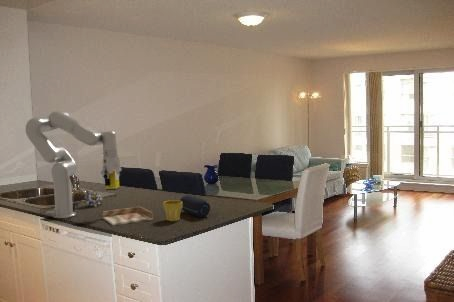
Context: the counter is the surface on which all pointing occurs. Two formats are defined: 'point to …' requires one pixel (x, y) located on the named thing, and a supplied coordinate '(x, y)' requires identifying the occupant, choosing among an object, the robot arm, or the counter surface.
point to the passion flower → (93, 199)
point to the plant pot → (173, 209)
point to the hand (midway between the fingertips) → (112, 184)
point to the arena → (127, 215)
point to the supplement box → (113, 181)
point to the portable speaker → (195, 205)
